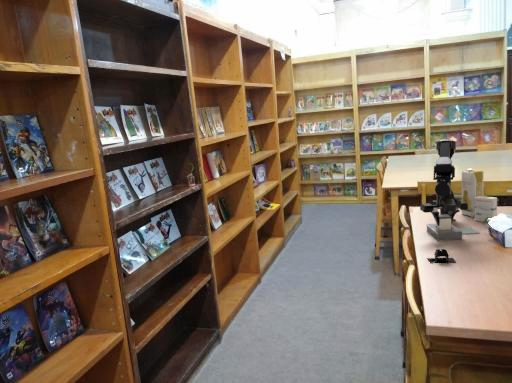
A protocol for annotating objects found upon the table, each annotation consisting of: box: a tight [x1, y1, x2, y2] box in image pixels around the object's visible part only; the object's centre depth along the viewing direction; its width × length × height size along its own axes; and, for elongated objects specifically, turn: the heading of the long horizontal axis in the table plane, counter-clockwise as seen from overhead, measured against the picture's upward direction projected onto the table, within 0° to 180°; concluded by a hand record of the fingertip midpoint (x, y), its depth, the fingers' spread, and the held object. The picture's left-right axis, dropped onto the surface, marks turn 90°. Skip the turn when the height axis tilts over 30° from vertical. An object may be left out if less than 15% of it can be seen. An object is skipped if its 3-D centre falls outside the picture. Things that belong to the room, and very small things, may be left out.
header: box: [425, 222, 463, 242], centre depth 180 cm, size 14×10×4 cm
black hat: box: [426, 248, 457, 265], centre depth 152 cm, size 12×7×5 cm, turn 80°
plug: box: [437, 214, 452, 230], centre depth 179 cm, size 4×4×9 cm
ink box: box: [474, 195, 498, 223], centre depth 193 cm, size 9×5×12 cm, turn 39°
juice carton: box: [461, 168, 485, 218], centre depth 204 cm, size 9×8×24 cm
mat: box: [457, 227, 481, 236], centre depth 182 cm, size 8×8×1 cm
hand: (443, 225), depth 179 cm, fingers closed on plug, 4 cm apart
